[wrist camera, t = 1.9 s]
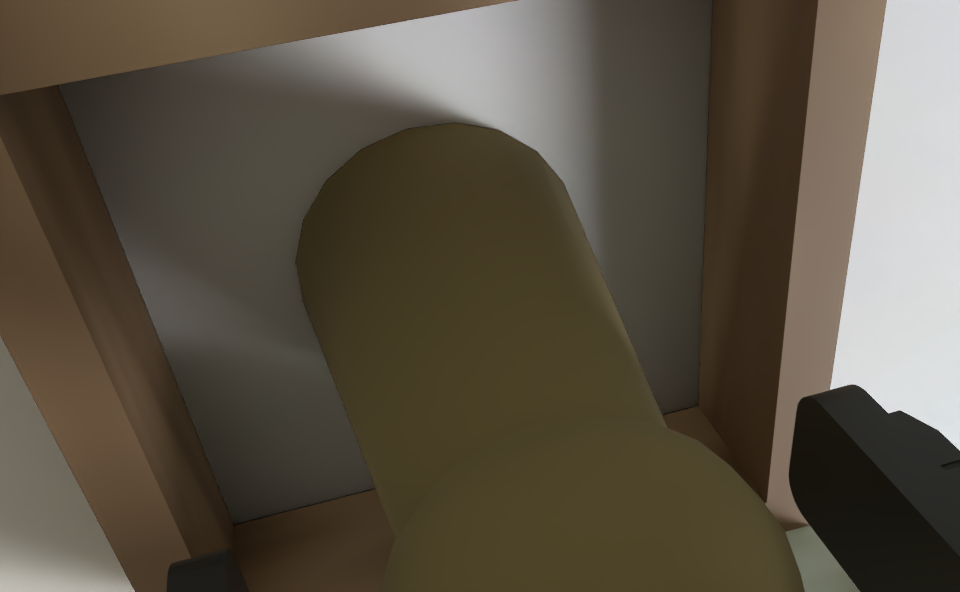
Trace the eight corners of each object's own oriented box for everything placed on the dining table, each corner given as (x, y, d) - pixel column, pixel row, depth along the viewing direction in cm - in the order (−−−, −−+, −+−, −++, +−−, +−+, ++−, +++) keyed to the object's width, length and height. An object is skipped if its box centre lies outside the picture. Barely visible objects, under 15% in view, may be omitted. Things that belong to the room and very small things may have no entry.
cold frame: (781, -176, 15) (1795, -42, 5) (737, 450, 24) (1097, 952, 14) (-78, -37, 13) (-987, 578, 3) (206, 591, 22) (183, 1293, 12)
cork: (555, 86, 17) (929, 476, 8) (593, 329, 20) (883, 797, 11) (252, 172, 16) (274, 699, 7) (343, 407, 20) (436, 964, 11)
